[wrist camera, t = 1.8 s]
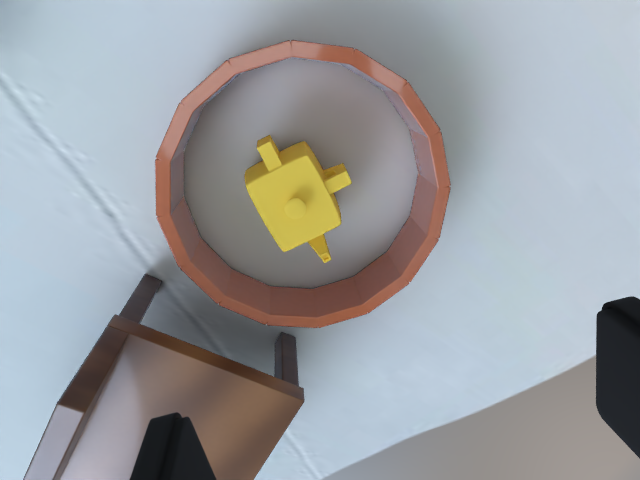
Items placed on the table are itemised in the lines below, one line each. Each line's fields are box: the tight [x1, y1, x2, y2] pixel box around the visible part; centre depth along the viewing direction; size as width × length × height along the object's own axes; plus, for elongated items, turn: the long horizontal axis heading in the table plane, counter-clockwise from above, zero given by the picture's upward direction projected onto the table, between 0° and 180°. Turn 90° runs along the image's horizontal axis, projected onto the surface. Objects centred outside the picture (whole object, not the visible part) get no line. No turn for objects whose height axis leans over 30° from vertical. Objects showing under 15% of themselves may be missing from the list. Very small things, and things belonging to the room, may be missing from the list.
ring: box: [155, 40, 451, 328], centre depth 28 cm, size 17×17×4 cm
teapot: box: [245, 135, 352, 263], centre depth 27 cm, size 8×6×5 cm
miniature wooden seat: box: [23, 274, 304, 480], centre depth 28 cm, size 12×12×13 cm
